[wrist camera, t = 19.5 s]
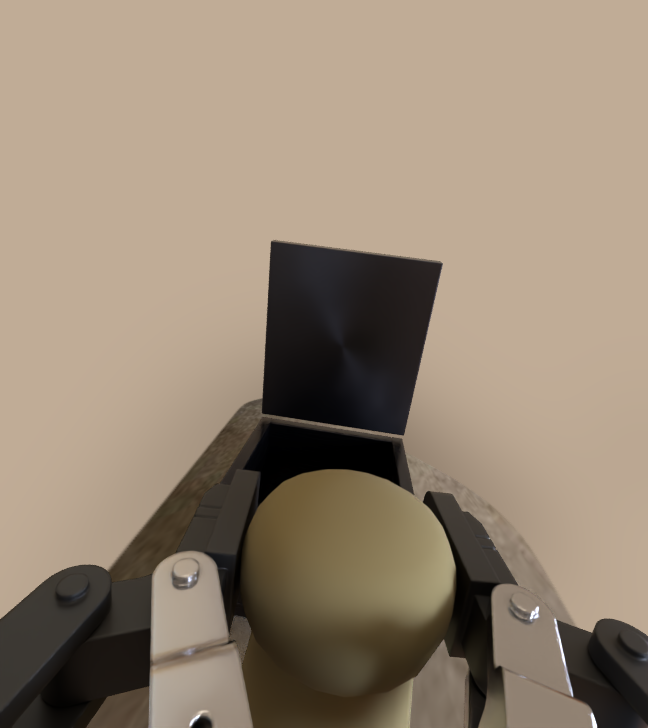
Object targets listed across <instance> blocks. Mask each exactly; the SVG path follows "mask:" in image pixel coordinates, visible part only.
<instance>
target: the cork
mask: <svg viewBox="0 0 648 728" xmlns="http://www.w3.org/2000/svg"><path fill="white" fill-rule="evenodd" d="M455 594H456V566H455V562H454V558H453V555H452V551H451V548H450V544H449V542H448V539H447V537H446V534H445V532H444V529H443V527H442V525H441V524H440V522H439V521H438V520H437V518H436V517H435V515H434V514H433V513H432V511H431V510H430V508H428V507H427V506H426V505H425V504H424V503H422V502H421V501H420V500H419V499H418V498H416V497H415V496H414V495H413V494H412V493H410V492H408V491H407V490H405V489H403V488H401V487H399V486H397V485H396V484H394V483H392V482H390V481H388V480H386V479H383V478H380V477H377V476H374V475H372V474H369V473H364V472H358V471H353V470H342V469H326V470H319V471H314V472H308V473H302V474H300V475H297V476H295V477H293V478H291V479H288V480H286V481H284V482H283V483H281V484H280V485H279V486H278V487H277V488H276V489H275V490H274V491H273V492H271V493H270V494H269V495H268V496H267V498H266V499H265V500H264V501H263V502H262V503H261V504H260V505H259V506H258V508H257V510H256V512H255V515H254V517H253V519H252V521H251V523H250V525H249V528H248V530H247V533H246V535H245V538H244V540H243V545H242V552H241V564H240V595H241V599H242V603H243V608H244V612H245V615H246V617H247V620H248V622H249V625H250V627H251V630H252V632H251V636H250V639H249V643H248V646H247V650H246V654H245V657H244V661H243V664H242V671H243V677H244V682H245V687H246V692H247V698H248V703H249V708H250V713H251V719H252V724H253V728H409V725H410V713H411V700H412V688H413V678H414V677H416V676H417V675H418V673H419V672H420V671H421V669H422V668H423V667H424V665H425V664H426V663H427V661H428V660H429V659H430V657H431V656H432V654H433V653H434V652H435V650H436V649H437V647H438V646H439V645H440V643H441V642H442V640H443V639H444V638H445V636H446V634H447V630H448V627H449V624H450V620H451V617H452V613H453V607H454V601H455Z"/></svg>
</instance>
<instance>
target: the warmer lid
mask: <svg viewBox="0 0 648 728" xmlns="http://www.w3.org/2000/svg"><path fill="white" fill-rule="evenodd" d="M442 265H443V263H441V262H440V261H432V260H425V259H417V258H410V257H401V256H393V255H386V254H379V253H371V252H363V251H355V250H347V249H340V248H332V247H324V246H316V245H308V244H301V243H293V242H285V241H276V240H273V241H271V253H270V271H269V290H268V307H267V309H268V310H267V326H266V344H265V365H264V382H263V400H262V413H263V414H269V415H276V416H282V417H288V418H295V419H301V420H308V421H314V422H320V423H327V424H333V425H339V426H346V427H352V428H359V429H365V430H372V431H378V432H385V433H391V434H397V435H404V433H405V428H406V424H407V419H408V415H409V411H410V406H411V402H412V397H413V392H414V388H415V384H416V380H417V375H418V371H419V366H420V362H421V358H422V353H423V349H424V344H425V340H426V335H427V331H428V327H429V322H430V318H431V314H432V309H433V304H434V300H435V296H436V292H437V287H438V283H439V278H440V273H441V269H442Z"/></svg>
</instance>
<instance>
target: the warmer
mask: <svg viewBox="0 0 648 728" xmlns="http://www.w3.org/2000/svg"><path fill="white" fill-rule="evenodd" d="M237 469H240V470H249V471H258V472H260V485H259V495H258V505H257V508H258V506H259V505H260V504H261V503H262V502H263V501H264V500H265V499H266V498H267V496H268V495H269V494H270V493H271V492H273V491H274V490H275V489H276V488H277V487H278V486H279V485H280V484H281V483H283V482H284V481H286V480H288V479H291V478H293V477H295V476H297V475H300V474H302V473H308V472H314V471H319V470H326V469H342V470H353V471H358V472H364V473H369V474H372V475H374V476H377V477H380V478H383V479H386V480H388V481H390V482H392V483H394V484H396V485H397V486H399V487H401V488H403V489H405V490H407V491H408V492H410V493H412V494H413V495H414V492H413V487H412V482H411V478H410V473H409V468H408V464H407V459H406V455H405V450H404V446H403V441H402V439H400V438H394V437H392V438H391V437H387V436H381V435H374V434H368V433H362V432H355V431H349V430H343V429H336V428H330V427H323V426H317V425H311V424H304V423H298V422H292V421H285V420H279V419H272V418H267V417H262V419H261V420H260V422H259V423H258V425H257V426H256V428H255V429H254V431H253V433H252V434H251V436H250V437H249V439H248V440H247V442H246V443H245V445H244V447H243V448H242V450H241V451H240V453H239V454H238V456H237V458H236V459H235V461H234V462H233V464H232V465H231V467H230V468H229V470H228V472H227V473H226V475H225V476H224V478H223V479H222V481H221V482H220V484H225V485H231V482H232V480H233V477H234V475H235V472H236V470H237ZM234 615H238V616H243V617H246V615H245V612H244V608H243V603H242V599H241V595H240V592H239V596H238V600H237V604H236V608H235V613H234Z"/></svg>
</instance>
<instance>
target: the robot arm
mask: <svg viewBox="0 0 648 728" xmlns="http://www.w3.org/2000/svg"><path fill="white" fill-rule="evenodd" d="M259 485H260V472H258V471H249V470H240V469H237V470H236V472H235V475H234V477H233V480H232V482H231V485H225V484H216V485H214V486H213V487H212V488H211V489H209V490H208V491H207V492H206V493H205V494H204V496H203V498H202V500H201V502H200V504H199V507H198V508H197V510H196V512H195V515H194V517H193V519H192V521H191V523H190V525H189V527H188V529H187V531H186V533H185V535H184V537H183V539H182V541H181V543H180V545H179V547H178V549H177V551H176V553H175V554H173V555H171V556H169V557H167V558H166V559H164V560H163V561H162V562H161V563H160V564H159V565H158V566H157V567H156V569H155V570H154V573H153V574H150V575H148V576H144V577H141V578H136V579H130V580H124V581H118V582H111V576H110V574H109V573H108V572H107V570H105V569H104V568H102V567H99V566H96V565H79V566H74V567H70V568H67V569H64V570H62V571H60V572H58V573H56V574H54V575H52V576H51V577H49V578H48V579H47V580H46V581H44V582H43V583H42V584H41V585H39V586H38V587H37V588H36V589H35V590H34V591H33V592H31V593H30V594H29V595H28V596H27V597H26V598H24V599H23V600H22V601H21V602H20V603H19V604H18V605H17V606H15V607H14V608H13V609H12V610H11V611H9V612H8V613H7V614H6V615H5V616H4V617H3V618H1V619H0V728H86V727H87V725H88V724H89V722H90V721H91V719H92V718H93V716H94V715H95V714H96V712H97V711H98V709H99V708H100V706H101V705H102V704H103V702H104V701H105V699H106V698H107V697H108V696H112V695H115V694H119V693H123V692H127V691H131V690H135V689H139V688H143V687H147V686H150V693H149V728H253V724H252V719H251V713H250V708H249V703H248V698H247V692H246V687H245V682H244V677H243V671H242V666H241V661H240V656H239V651H238V647H237V644H236V641H235V640H233V641H230V637H229V633H230V629H231V625H232V621H233V617H234V613H235V608H236V604H237V600H238V596H239V592H240V564H241V552H242V545H243V540H244V538H245V535H246V533H247V530H248V528H249V525H250V523H251V521H252V519H253V517H254V515H255V512H256V510H257V505H258V495H259ZM423 503H424V504H425V505H426V506H427V507H428V508H430V510H431V511H432V513H433V514H434V515H435V517H436V518H437V520H438V521H439V522H440V524H441V525H442V527H443V529H444V532H445V534H446V537H447V539H448V542H449V544H450V548H451V551H452V555H453V558H454V562H455V566H456V594H455V601H454V607H453V613H452V617H451V620H450V624H449V627H448V630H447V634H446V636H445V638H444V641H445V644H446V647H447V650H448V653H449V656H450V657H460V658H466V660H467V662H468V665H469V669H468V672H467V675H466V679H465V701H464V728H648V636H647V635H646V634H644V633H643V632H641V631H640V630H638V629H636V628H635V627H633V626H631V625H629V624H626V623H624V622H621V621H618V620H614V619H601V620H600V621H598V622H597V623H596V625H595V628H594V630H593V633H591V632H588V631H585V630H583V629H580V628H577V627H574V626H571V625H569V624H566V623H563V622H561V621H558V620H556V619H555V616H554V614H553V612H552V610H551V609H550V608H549V606H548V605H547V604H546V603H545V602H544V601H543V600H542V599H541V598H539V597H538V596H537V595H535V594H534V593H532V592H531V591H529V590H527V589H525V588H523V587H520V586H518V584H517V582H516V581H515V579H514V577H513V576H512V574H511V572H510V571H509V569H508V567H507V566H506V564H505V562H504V561H503V559H502V557H501V556H500V554H499V552H498V551H497V550H496V549H495V548H496V547H495V546H494V544H493V542H492V541H491V539H489V536H488V534H487V532H486V530H485V529H484V527H483V525H482V524H481V523H480V522H479V521H478V520H477V519H476V518H474V517H473V516H472V515H471V514H470V513H469V512H463V511H462V510H461V509H460V507H459V505H458V503H457V501H456V500H455V498H454V496H453V495H452V494H449V493H440V492H431V491H428V492H426V494H425V497H424V501H423Z"/></svg>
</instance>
